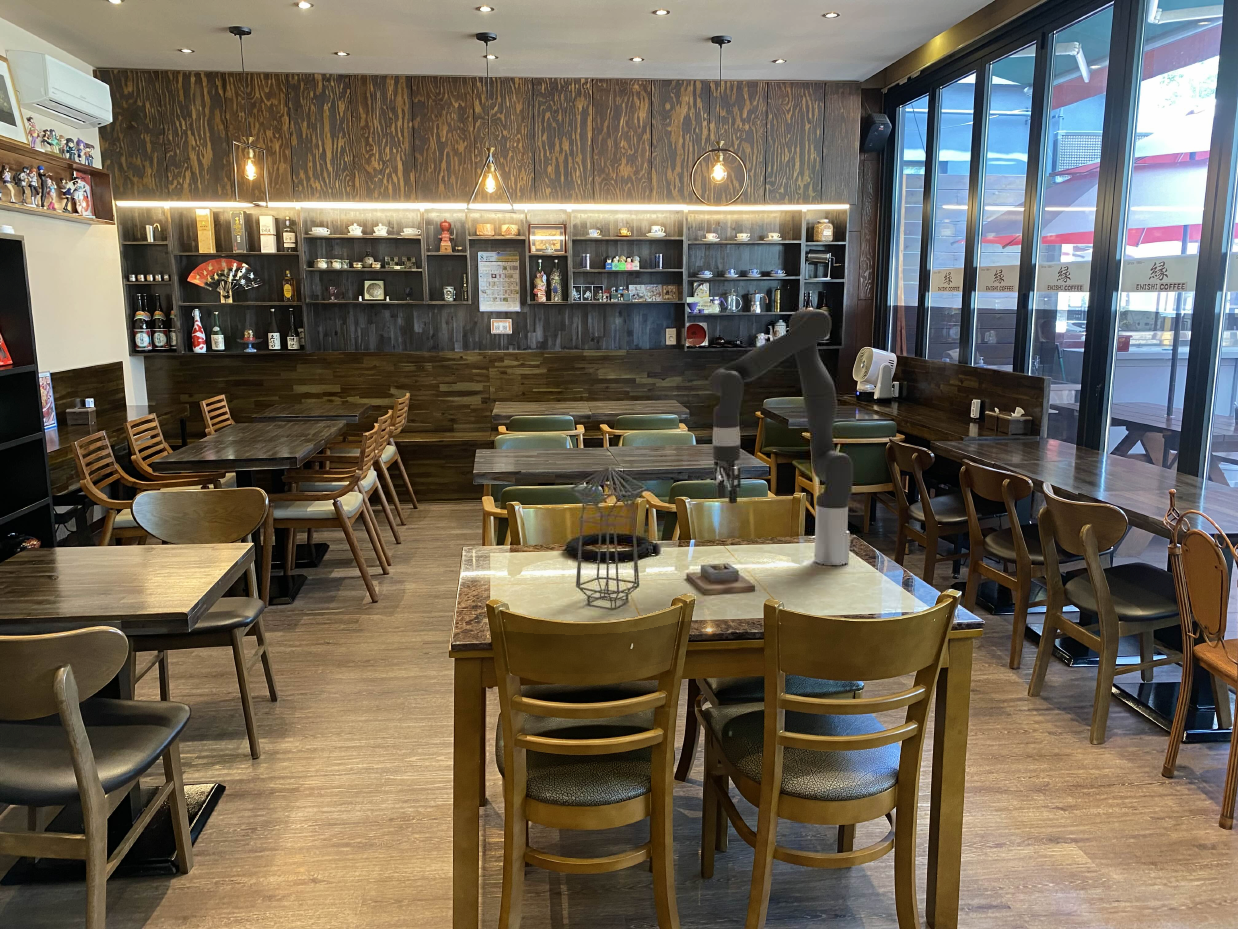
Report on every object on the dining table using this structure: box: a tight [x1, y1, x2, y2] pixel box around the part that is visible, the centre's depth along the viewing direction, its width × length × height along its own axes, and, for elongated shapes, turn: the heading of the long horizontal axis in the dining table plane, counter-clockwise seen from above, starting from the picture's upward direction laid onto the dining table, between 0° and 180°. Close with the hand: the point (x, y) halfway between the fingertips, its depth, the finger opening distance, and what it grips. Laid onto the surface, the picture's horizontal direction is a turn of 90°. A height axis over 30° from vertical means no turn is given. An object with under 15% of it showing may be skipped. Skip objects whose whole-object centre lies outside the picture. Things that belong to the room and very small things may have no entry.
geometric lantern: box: [568, 466, 649, 610], centre depth 224 cm, size 16×16×35 cm
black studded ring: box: [565, 532, 662, 562], centre depth 278 cm, size 28×4×30 cm
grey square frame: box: [700, 562, 740, 583], centre depth 243 cm, size 8×8×3 cm
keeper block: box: [685, 563, 756, 595], centre depth 242 cm, size 14×16×6 cm
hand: (726, 500), depth 248 cm, fingers open, 8 cm apart
